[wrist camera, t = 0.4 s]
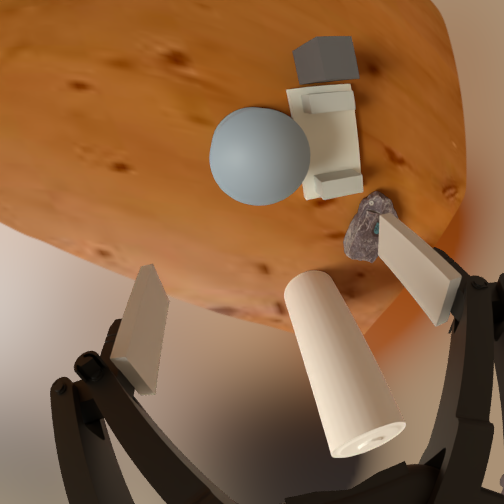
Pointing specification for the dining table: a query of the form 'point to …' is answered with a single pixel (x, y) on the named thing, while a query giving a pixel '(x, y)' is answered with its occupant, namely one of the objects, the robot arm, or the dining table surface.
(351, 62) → the gray rectangular block
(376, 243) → the rock
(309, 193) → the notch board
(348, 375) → the cylinder container
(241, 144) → the spool
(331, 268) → the dining table surface
